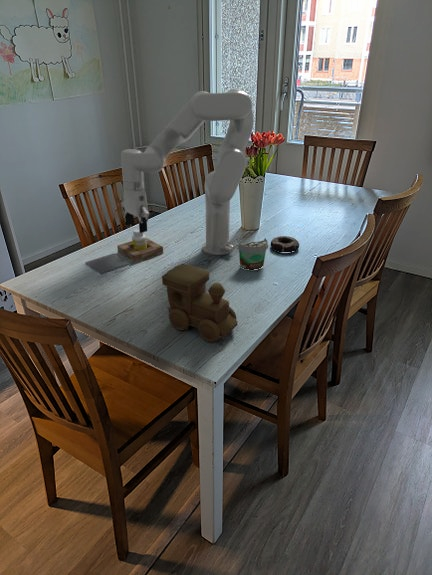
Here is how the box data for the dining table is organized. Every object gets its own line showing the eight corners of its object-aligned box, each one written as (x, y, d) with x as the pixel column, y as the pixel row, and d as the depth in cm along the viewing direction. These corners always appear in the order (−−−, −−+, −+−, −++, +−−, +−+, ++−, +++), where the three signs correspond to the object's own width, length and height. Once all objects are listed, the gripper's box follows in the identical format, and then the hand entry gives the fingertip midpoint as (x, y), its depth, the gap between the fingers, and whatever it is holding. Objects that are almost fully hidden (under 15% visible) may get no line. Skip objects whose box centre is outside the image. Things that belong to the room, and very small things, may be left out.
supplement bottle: (134, 250, 169) (132, 227, 164) (147, 249, 169) (145, 227, 165) (133, 256, 164) (130, 233, 159) (147, 255, 165) (145, 232, 160)
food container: (245, 275, 151) (246, 250, 146) (236, 268, 155) (237, 243, 150) (273, 268, 156) (275, 243, 151) (264, 261, 160) (265, 237, 155)
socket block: (163, 253, 166) (162, 246, 165) (135, 263, 159) (134, 255, 157) (145, 243, 175) (144, 237, 173) (118, 252, 167) (117, 245, 166)
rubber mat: (129, 264, 158) (129, 263, 157) (100, 274, 151) (100, 273, 150) (113, 254, 165) (113, 253, 165) (85, 263, 158) (85, 262, 158)
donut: (264, 249, 171) (265, 240, 169) (281, 241, 178) (281, 232, 176) (288, 257, 164) (288, 248, 162) (304, 248, 171) (305, 239, 169)
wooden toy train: (162, 325, 123) (159, 276, 115) (185, 308, 131) (183, 261, 123) (219, 348, 114) (220, 296, 105) (240, 328, 122) (242, 278, 114)
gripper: (155, 188, 150) (157, 232, 158) (129, 178, 161) (132, 219, 169) (137, 192, 145) (140, 237, 154) (112, 181, 156) (116, 223, 165)
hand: (136, 228), depth 161 cm, fingers open, 9 cm apart
